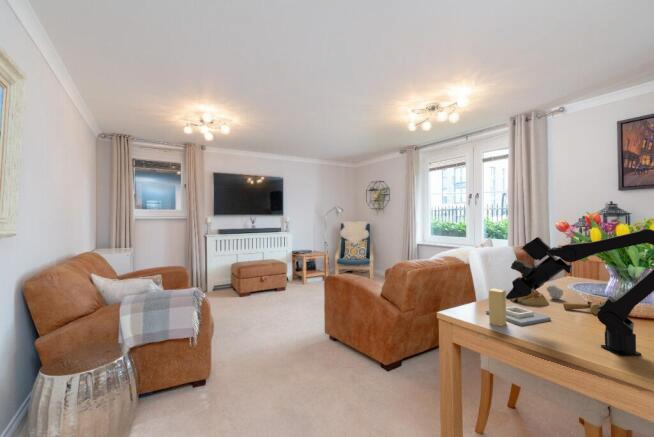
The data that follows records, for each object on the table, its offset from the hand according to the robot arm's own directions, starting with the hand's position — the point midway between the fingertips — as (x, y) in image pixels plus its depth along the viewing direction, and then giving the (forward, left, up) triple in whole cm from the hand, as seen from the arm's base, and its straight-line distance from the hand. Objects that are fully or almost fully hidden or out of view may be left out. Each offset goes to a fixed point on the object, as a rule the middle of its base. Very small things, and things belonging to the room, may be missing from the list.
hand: (510, 296), depth 112 cm
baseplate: (+10, -9, -11) cm, 18 cm away
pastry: (+31, -28, -12) cm, 43 cm away
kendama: (+14, -43, -12) cm, 47 cm away
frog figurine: (+34, -44, -12) cm, 57 cm away
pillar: (+3, +3, -11) cm, 12 cm away
